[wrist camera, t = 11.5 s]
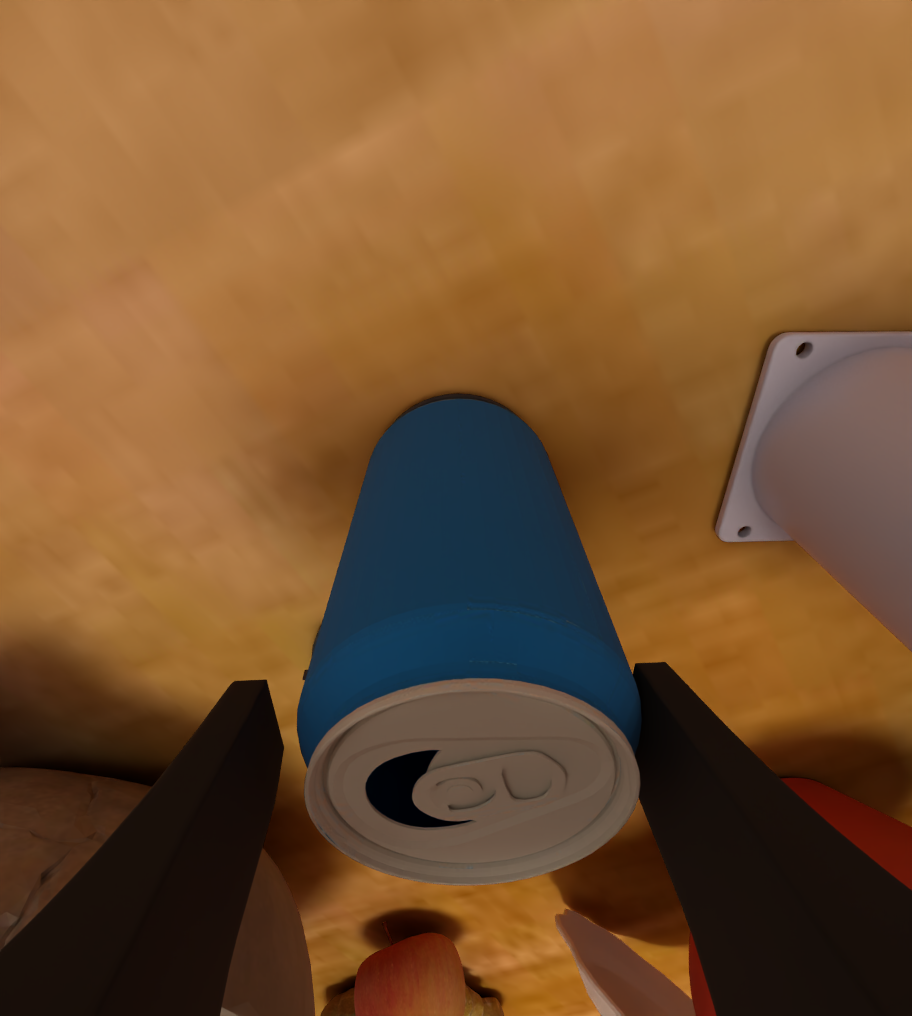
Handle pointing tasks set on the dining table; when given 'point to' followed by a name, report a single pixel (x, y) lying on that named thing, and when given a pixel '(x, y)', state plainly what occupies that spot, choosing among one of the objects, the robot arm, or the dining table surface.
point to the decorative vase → (870, 830)
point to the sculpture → (478, 1011)
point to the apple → (412, 979)
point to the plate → (619, 973)
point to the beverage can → (467, 666)
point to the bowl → (83, 830)
